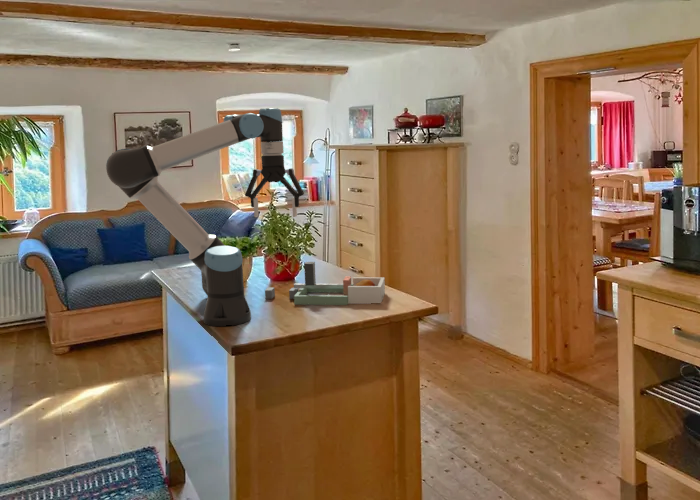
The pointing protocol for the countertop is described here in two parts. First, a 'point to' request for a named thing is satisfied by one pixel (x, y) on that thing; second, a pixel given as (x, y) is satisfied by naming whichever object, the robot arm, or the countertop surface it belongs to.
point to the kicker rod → (311, 283)
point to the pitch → (311, 296)
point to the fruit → (365, 283)
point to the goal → (366, 291)
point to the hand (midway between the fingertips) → (275, 216)
